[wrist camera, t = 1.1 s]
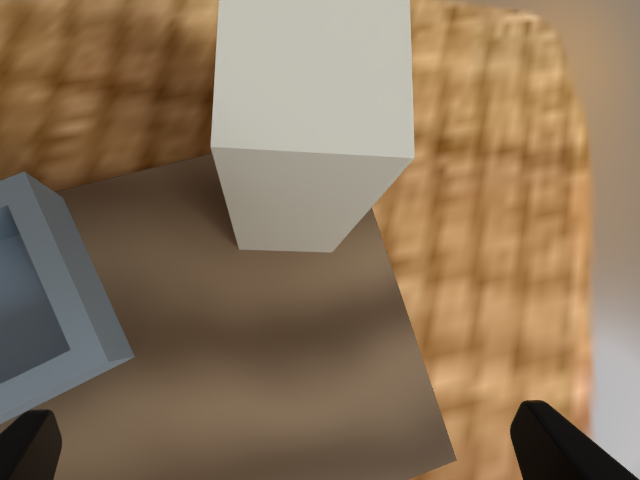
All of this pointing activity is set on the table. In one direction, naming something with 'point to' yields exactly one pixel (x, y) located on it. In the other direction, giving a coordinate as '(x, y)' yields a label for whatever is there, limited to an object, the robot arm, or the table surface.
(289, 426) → the walnut board
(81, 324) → the socket cup
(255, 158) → the tower
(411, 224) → the table surface
